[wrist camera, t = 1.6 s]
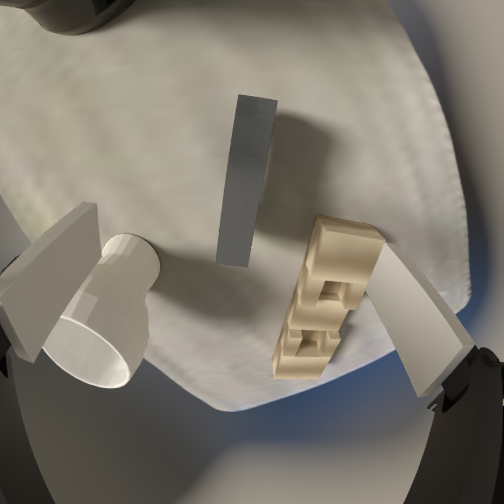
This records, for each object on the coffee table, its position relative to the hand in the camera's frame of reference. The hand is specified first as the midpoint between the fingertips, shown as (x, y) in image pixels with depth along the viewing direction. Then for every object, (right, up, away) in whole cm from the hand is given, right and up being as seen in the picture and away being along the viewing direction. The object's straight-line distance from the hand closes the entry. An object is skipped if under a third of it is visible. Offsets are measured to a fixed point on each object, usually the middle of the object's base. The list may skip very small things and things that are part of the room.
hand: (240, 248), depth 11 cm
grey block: (0, +8, +14) cm, 17 cm away
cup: (-14, -1, +20) cm, 24 cm away
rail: (+9, -7, +23) cm, 26 cm away
